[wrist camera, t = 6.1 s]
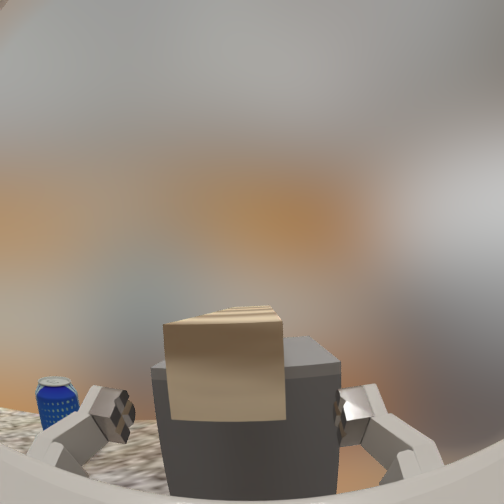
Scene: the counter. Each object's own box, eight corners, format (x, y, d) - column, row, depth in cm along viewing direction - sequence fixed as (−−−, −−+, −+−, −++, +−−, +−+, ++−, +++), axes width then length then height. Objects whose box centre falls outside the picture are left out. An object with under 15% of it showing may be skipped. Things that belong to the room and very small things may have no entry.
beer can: (87, 446, 45) (74, 375, 48) (93, 465, 39) (77, 386, 41) (50, 448, 40) (34, 375, 43) (51, 467, 34) (31, 386, 36)
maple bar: (286, 419, 9) (282, 320, 10) (171, 419, 9) (162, 324, 10) (271, 336, 33) (269, 305, 33) (234, 338, 33) (233, 307, 34)
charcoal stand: (322, 589, 14) (340, 361, 18) (198, 590, 14) (150, 367, 18) (308, 518, 27) (309, 335, 31) (216, 520, 28) (196, 340, 32)
